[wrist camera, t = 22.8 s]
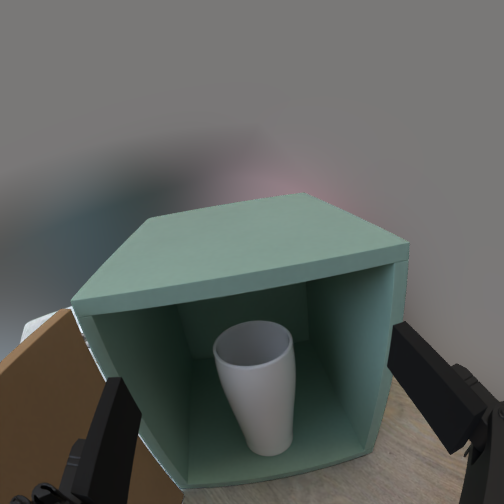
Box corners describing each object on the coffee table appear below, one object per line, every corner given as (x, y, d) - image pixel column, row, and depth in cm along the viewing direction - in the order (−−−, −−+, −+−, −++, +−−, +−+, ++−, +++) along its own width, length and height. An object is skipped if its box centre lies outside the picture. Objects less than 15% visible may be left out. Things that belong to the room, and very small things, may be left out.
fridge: (372, 452, 25) (409, 242, 17) (180, 488, 23) (69, 300, 15) (314, 339, 47) (304, 192, 39) (188, 362, 46) (148, 218, 38)
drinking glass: (311, 446, 26) (310, 346, 21) (255, 472, 24) (228, 380, 19) (281, 410, 32) (269, 311, 27) (231, 432, 30) (201, 334, 25)
